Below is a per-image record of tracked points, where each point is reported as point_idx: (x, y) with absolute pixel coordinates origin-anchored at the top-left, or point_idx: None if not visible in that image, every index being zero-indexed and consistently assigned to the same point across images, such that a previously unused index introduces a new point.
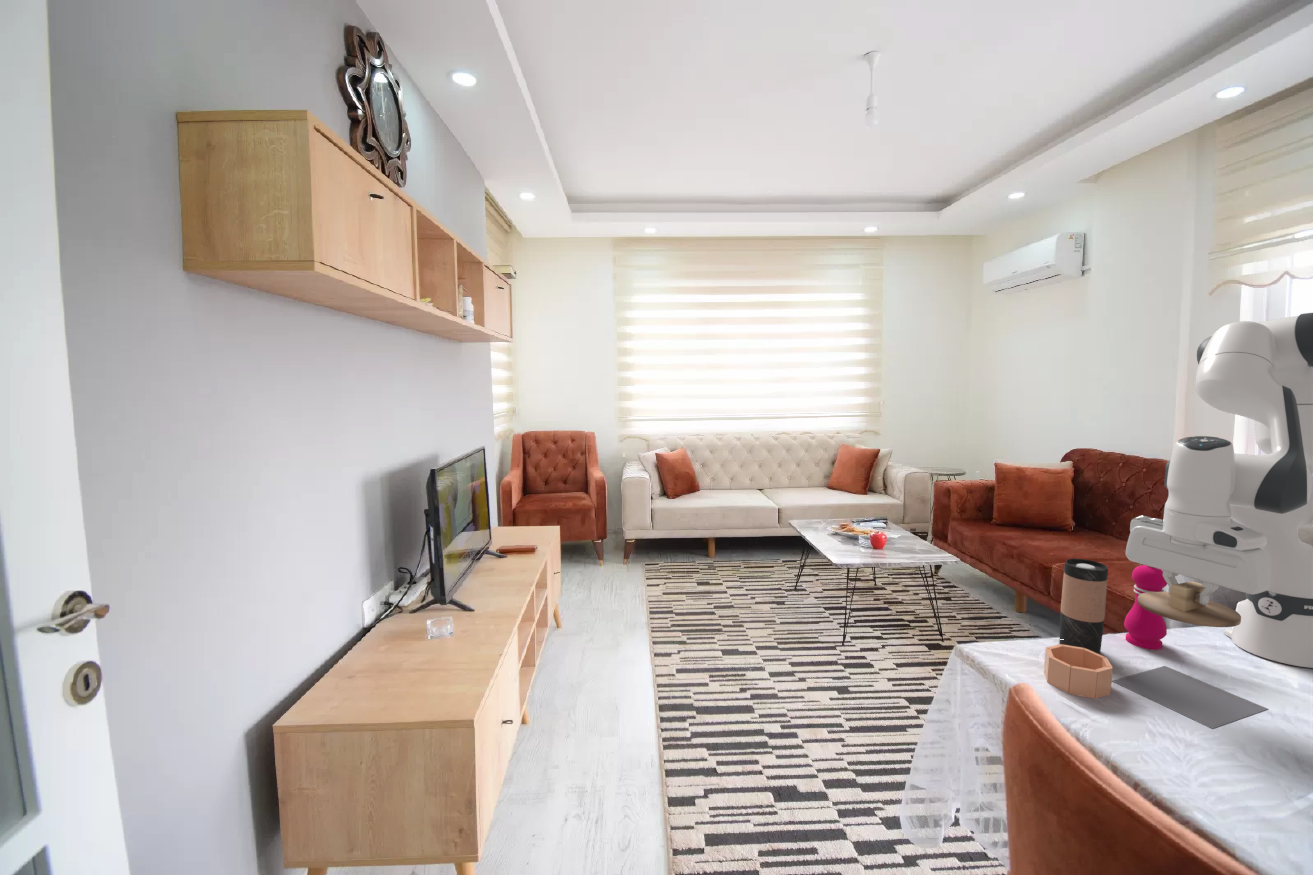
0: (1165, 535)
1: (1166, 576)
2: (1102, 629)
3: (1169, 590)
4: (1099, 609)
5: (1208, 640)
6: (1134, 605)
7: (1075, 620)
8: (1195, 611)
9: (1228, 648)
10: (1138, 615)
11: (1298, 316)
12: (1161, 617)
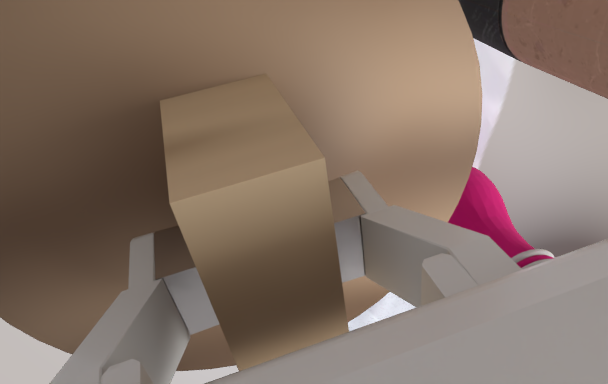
0: None
1: (455, 245)
2: (479, 19)
3: (364, 185)
4: (548, 4)
5: (390, 314)
6: (510, 224)
7: None
8: (153, 174)
9: (356, 323)
10: (477, 205)
11: None
12: None
